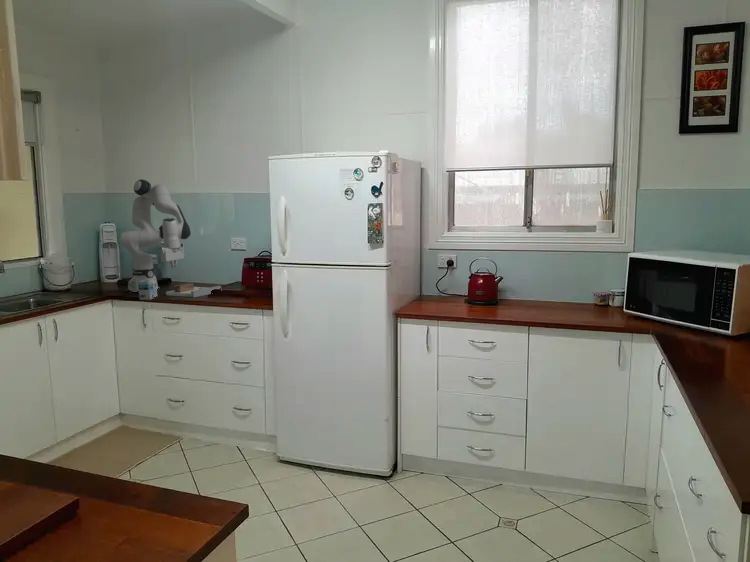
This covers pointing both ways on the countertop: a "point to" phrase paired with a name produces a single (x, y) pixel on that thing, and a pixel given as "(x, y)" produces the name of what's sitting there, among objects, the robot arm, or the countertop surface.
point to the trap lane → (194, 292)
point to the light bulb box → (147, 289)
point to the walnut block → (184, 287)
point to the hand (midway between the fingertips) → (173, 268)
